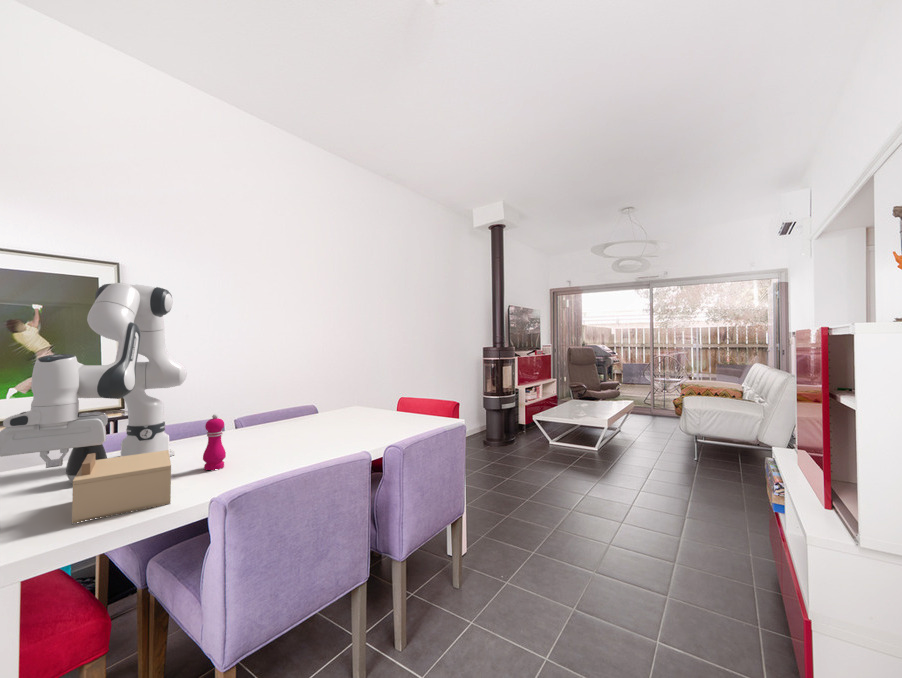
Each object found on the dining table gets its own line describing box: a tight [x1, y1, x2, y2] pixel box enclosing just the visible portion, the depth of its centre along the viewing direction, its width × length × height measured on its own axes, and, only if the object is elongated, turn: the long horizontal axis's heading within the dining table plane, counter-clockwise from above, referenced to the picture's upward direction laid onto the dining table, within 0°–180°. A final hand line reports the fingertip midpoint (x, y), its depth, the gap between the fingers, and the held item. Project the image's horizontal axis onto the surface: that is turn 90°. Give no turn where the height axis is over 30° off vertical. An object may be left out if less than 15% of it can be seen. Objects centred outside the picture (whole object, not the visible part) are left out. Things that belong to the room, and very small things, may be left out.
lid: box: [72, 450, 172, 486], centre depth 109 cm, size 20×20×4 cm
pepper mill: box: [202, 413, 227, 471], centre depth 139 cm, size 7×7×20 cm
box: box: [71, 468, 172, 524], centre depth 109 cm, size 20×20×10 cm
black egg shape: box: [65, 443, 108, 483], centre depth 125 cm, size 10×10×15 cm
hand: (54, 466), depth 100 cm, fingers closed
